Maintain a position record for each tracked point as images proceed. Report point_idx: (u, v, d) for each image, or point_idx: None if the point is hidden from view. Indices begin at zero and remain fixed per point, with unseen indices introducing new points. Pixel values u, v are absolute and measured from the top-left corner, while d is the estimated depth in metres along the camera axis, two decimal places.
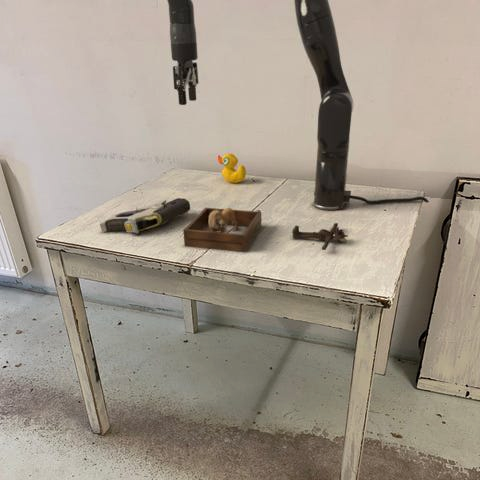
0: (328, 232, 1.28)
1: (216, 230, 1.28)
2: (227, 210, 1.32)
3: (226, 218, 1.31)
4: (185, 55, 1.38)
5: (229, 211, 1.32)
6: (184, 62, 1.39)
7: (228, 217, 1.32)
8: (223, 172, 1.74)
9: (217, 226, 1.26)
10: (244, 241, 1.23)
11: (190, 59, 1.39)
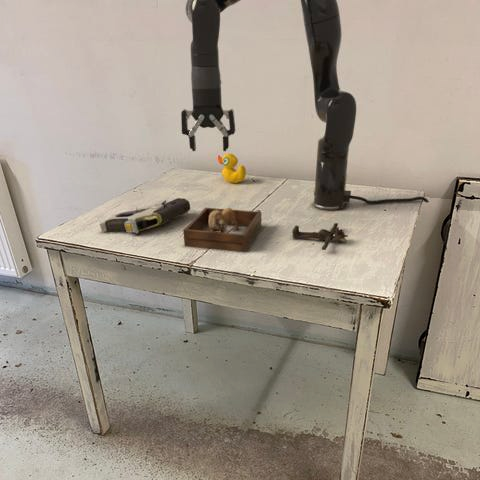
0: (328, 232, 1.28)
1: (216, 230, 1.28)
2: (227, 210, 1.32)
3: (226, 218, 1.31)
4: (193, 100, 1.25)
5: (229, 211, 1.32)
6: (195, 107, 1.26)
7: (228, 217, 1.32)
8: (223, 172, 1.74)
9: (217, 226, 1.26)
10: (244, 241, 1.23)
11: (196, 105, 1.24)
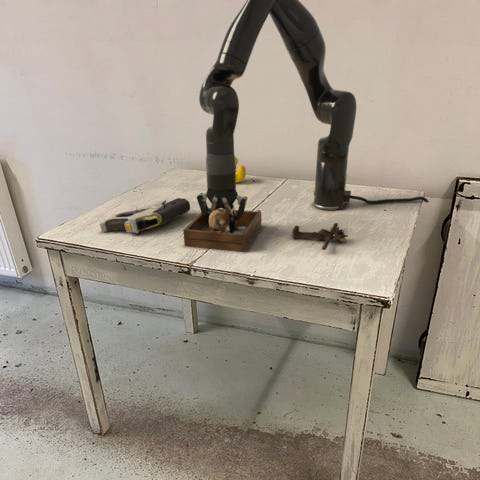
0: (328, 232, 1.28)
1: (216, 230, 1.28)
2: None
3: (226, 218, 1.31)
4: (207, 183, 1.25)
5: None
6: (209, 189, 1.27)
7: (228, 217, 1.32)
8: None
9: (217, 226, 1.26)
10: (244, 241, 1.23)
11: (209, 188, 1.25)
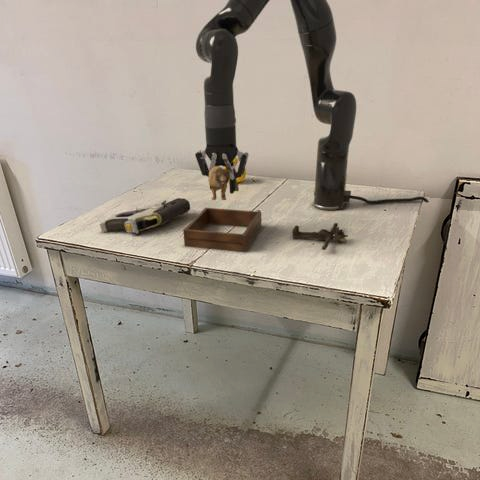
0: (328, 232, 1.28)
1: (217, 188, 1.22)
2: None
3: (227, 177, 1.25)
4: (206, 138, 1.20)
5: None
6: (208, 145, 1.21)
7: (228, 176, 1.26)
8: None
9: (218, 183, 1.20)
10: (244, 241, 1.23)
11: (208, 144, 1.19)
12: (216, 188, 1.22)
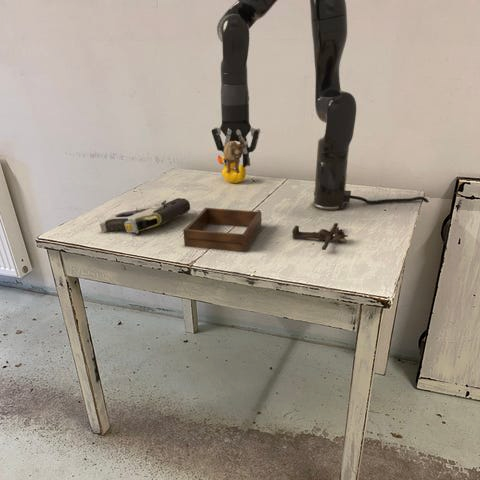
0: (328, 232, 1.28)
1: (231, 161, 1.34)
2: (240, 145, 1.38)
3: (240, 151, 1.36)
4: None
5: None
6: (223, 122, 1.32)
7: (241, 151, 1.38)
8: (223, 172, 1.74)
9: (233, 156, 1.32)
10: (244, 241, 1.23)
11: (224, 120, 1.30)
12: (231, 161, 1.34)
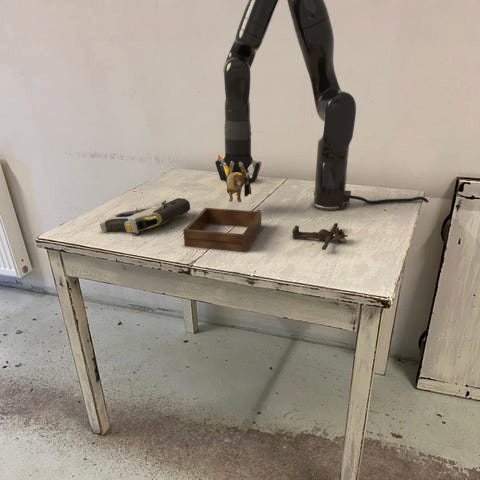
0: (328, 232, 1.28)
1: (234, 192, 1.41)
2: None
3: (242, 182, 1.44)
4: (225, 148, 1.39)
5: None
6: (227, 154, 1.40)
7: (243, 181, 1.45)
8: None
9: (235, 187, 1.39)
10: (244, 241, 1.23)
11: (227, 153, 1.38)
12: (233, 191, 1.41)
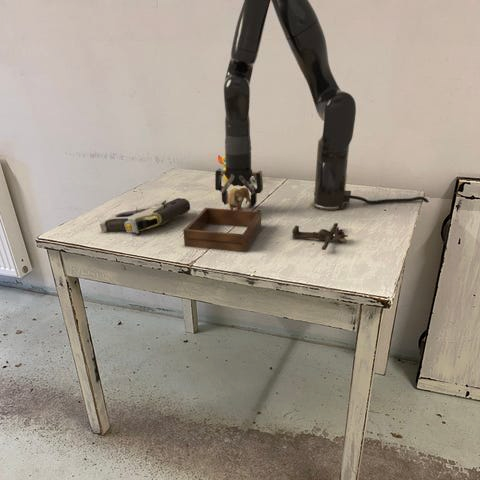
0: (328, 232, 1.28)
1: (234, 207, 1.44)
2: (243, 189, 1.48)
3: (242, 196, 1.46)
4: None
5: (244, 190, 1.48)
6: (227, 168, 1.42)
7: (244, 195, 1.48)
8: None
9: (236, 203, 1.42)
10: (244, 241, 1.23)
11: (227, 167, 1.40)
12: (234, 206, 1.44)
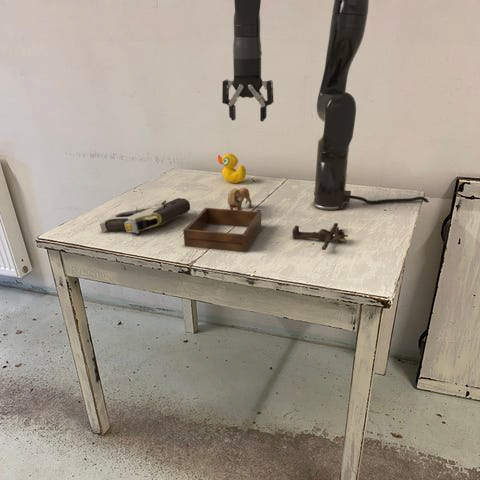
0: (328, 232, 1.28)
1: (234, 207, 1.44)
2: (243, 189, 1.48)
3: (242, 196, 1.46)
4: None
5: (244, 190, 1.48)
6: (235, 77, 1.32)
7: (244, 195, 1.48)
8: (223, 172, 1.74)
9: (236, 203, 1.42)
10: (244, 241, 1.23)
11: (236, 75, 1.30)
12: (234, 206, 1.44)
